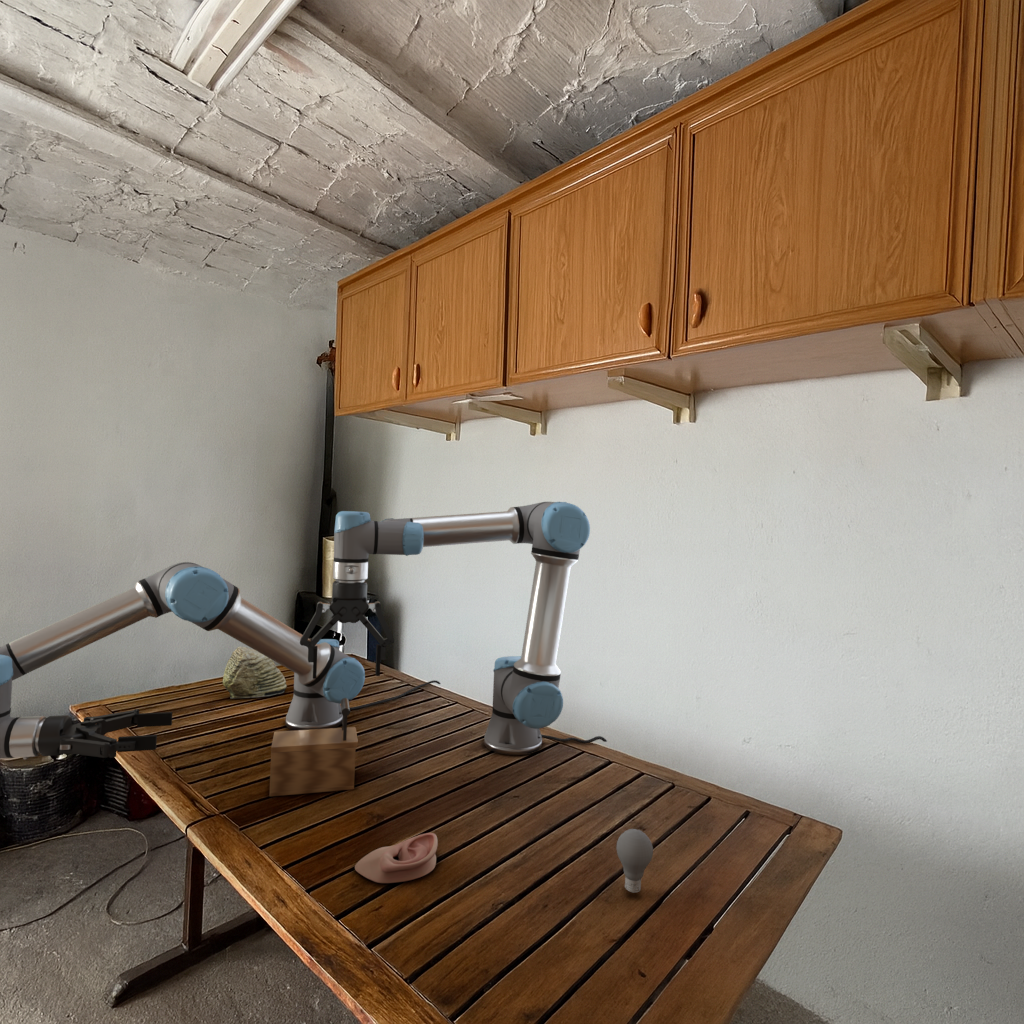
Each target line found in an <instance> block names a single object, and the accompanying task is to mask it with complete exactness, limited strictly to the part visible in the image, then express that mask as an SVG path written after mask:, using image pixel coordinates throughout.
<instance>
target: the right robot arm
mask: <svg viewBox="0 0 1024 1024" xmlns="http://www.w3.org/2000/svg"><path fill="white" fill-rule="evenodd" d="M589 520H590V519H589V518H588V516H587V514H586V513H585V512H584V510H583V509H581V508H580V507H579V506H578V505H576V504H573V503H570V502H567V501H541V502H536V503H532V504H527V505H520V506H511V507H509V508H508V509H507V510H505V511H492V512H490V511H489V512H479V513H463V514H462V513H461V514H449V515H448V514H447V515H446V514H445V515H433V516H420V517H408V518H407V517H406V518H405V517H404V518H384V519H383V520H380V521H379V520H378V521H377V520H372V518H371V514H370V513H369V511H357V510H355V511H353V510H341V511H338V512H337V514H336V515H335V523H334V533H333V562H332V563H333V564H332V579H333V580H334V581H333V582H332V586H331V587H332V589H331V590H332V592H331V601H330V603H328V602H327V603H326V602H323V601H318V602H317V604H316V610H315V612H314V614H313V616H312V618H311V619H310V622H309V623H308V625H307V627H306V628H305V631H304V632H303V634H302V635H303V636H302V637H301V639H300V645H302V646H306V647H308V662H313V678H316V673H317V646H315V645H316V644H317V643H318V642H319V641H320V640H321V639H323V637H325V636H326V634H327V633H328V632H329V631H330V630H331V629H332V628H333V627H334V626H335V625H336V624H337V623H338V622H339V623H341V624H347V623H350V624H356V623H358V622H360V623H362V625H363V626H364V627H365V628H366V629H367V631H368V632H369V633H370V635H372V636H373V638H374V639H375V640H376V641H377V642H378V643H377V644H376V648H375V676H376V677H380V676H381V661H385V660H386V657H387V655H386V654H387V646H388V645H391V644H394V643H395V638H394V637H393V634H392V631H391V629H390V628H389V625H388V623H387V621H386V619H385V617H384V615H383V613H382V604H381V602H380V601H378V600H377V601H374V602H369V603H368V582H367V581H366V580H368V578H369V577H368V576H369V555H389V556H390V555H392V556H393V555H394V556H395V555H396V556H406V557H408V556H416V555H420V554H421V553H423V548H427V547H428V548H429V547H441V546H455V545H468V544H479V543H480V544H481V543H493V542H495V543H496V542H505V541H507V542H509V541H510V543H512V544H513V545H516V544H528V545H531V551H530V554H531V556H532V557H533V558H534V560H535V567H534V574H533V579H532V585H531V592H530V599H529V605H528V611H527V616H526V623H525V630H524V637H523V644H522V650H521V654H520V655H516V656H515V655H512V656H511V655H510V656H509V655H507V656H500V657H498V658H497V659H496V660H495V661H494V668H493V683H492V684H493V686H492V687H493V689H492V711H491V717H490V719H489V721H488V724H487V727H486V731H485V733H484V736H483V737H484V739H483V744H484V746H485V748H487V749H488V750H489V751H492V752H493V753H498V754H501V755H507V756H526V755H531V754H534V753H536V752H538V751H539V750H541V748H542V747H543V739H546V740H552V741H556V742H560V743H567V742H577V743H579V744H583V745H584V744H585V745H586V744H590V743H593V742H595V741H598V740H601V741H602V742H604V743H607V742H608V740H607V739H606V738H605V737H603V736H601V735H598V736H595V737H592V738H589V739H579V738H577V737H567V738H566V737H565V738H560V737H557V736H552V735H546V734H542V733H541V729H544V728H547V727H549V726H551V725H552V724H553V723H554V722H556V721H557V719H558V718H559V717H560V715H561V714H562V712H563V708H564V697H563V693H562V692H561V690H560V689H559V687H560V680H561V673H562V671H561V669H560V668H559V666H558V665H557V658H558V653H559V645H560V638H561V633H562V627H563V619H564V613H565V606H566V600H567V594H568V587H569V581H570V575H571V568H572V566H574V565H575V564H576V563H577V562H579V557H580V552H581V549H582V548H583V547H584V546H585V545H586V544H587V542H588V540H589V538H590V533H591V524H590V521H589ZM369 609H370V610H371V612H372V613H375V616H376V617H377V619H378V621H379V624H380V625H381V628H382V630H383V632H384V634H385V637H383V636H382V635H381V634H380V632H379V631H378V630H377V628H375V626H374V625H373V624H372V623H371V621H369V619H368V618H367V617H366V615H365V614H366V613H367V612H368V610H369ZM328 610H329V611H330V612H331V613H332V615H331V617H330V618H329V619H328V620H327V621H326V623H324V624H323V626H322V627H320V629H319V630H318V631H316V633H315V634H314V635H313V637H312V638H311V639H310V637H311V635H312V633H313V631H314V630H315V628H316V626H317V624H318V622H319V620H320V618H321V616H322V614H325V613H326V611H328ZM308 639H310V640H308Z"/></svg>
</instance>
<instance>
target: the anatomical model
mask: <svg viewBox="0 0 1024 1024" xmlns="http://www.w3.org/2000/svg"><path fill="white" fill-rule="evenodd" d="M438 844H439V841H438V837H437V834H436V833H435V832H426V833H421V834H419V835H415V836H412V837H410V838H408V839H405V840H403V841H400V842H399V843H396V844H394V845H389V846H388V845H387V846H382V847H378V848H377V849H376V848H375V849H374V850H372V851H370V852H369V853H368V854H366V855H364V856H363V857H362V858H360V860H358V861H357V862H356V864H355V865H354V870H355V871H356V873H358V874H360V875H361V876H363V877H364V878H365V879H367V880H370V881H372V882H374V883H377V884H394V883H402V882H408V881H412V880H416V879H419V878H421V877H424V876H426V875H428V874H430V873H431V872H432V871H433V870H434V869H435V867H436V865H437V855H436V852H437V850H438V846H439V845H438Z"/></svg>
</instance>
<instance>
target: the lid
mask: <svg viewBox="0 0 1024 1024" xmlns="http://www.w3.org/2000/svg"><path fill="white" fill-rule="evenodd" d="M340 706H341V711H342V715H343V719H342V723H341V727H335V728H329V729H312V730H279V731H274V732H273V735H272V736H273V737H272V742H271V748H270V754H271V753H279V752H294V751H308V750H323V749H338V748H353V747H356V748H358V747H359V740H358V734H357V733H358V732H357V728H356V726H348V716H349V715H351V710H350V707H351V706H350V701H349V700H348V699H347V698H343V699H342V700H341V703H340Z"/></svg>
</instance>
